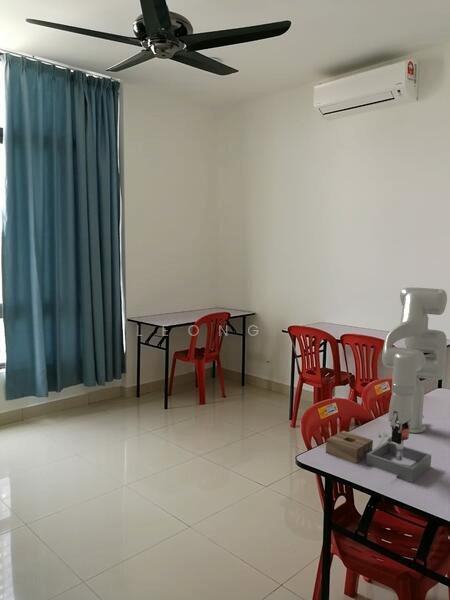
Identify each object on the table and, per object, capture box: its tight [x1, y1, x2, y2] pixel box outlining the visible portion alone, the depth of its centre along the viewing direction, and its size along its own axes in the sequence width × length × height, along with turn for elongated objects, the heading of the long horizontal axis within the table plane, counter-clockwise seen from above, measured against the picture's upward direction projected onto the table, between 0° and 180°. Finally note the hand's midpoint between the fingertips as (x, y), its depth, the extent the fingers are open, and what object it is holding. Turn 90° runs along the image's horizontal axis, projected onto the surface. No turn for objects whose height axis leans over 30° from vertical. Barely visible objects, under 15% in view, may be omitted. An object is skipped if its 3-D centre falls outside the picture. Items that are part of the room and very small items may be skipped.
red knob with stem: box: [394, 426, 410, 462], centre depth 166 cm, size 5×5×11 cm
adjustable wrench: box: [376, 430, 392, 448], centre depth 186 cm, size 25×6×2 cm, turn 147°
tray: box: [365, 440, 432, 484], centre depth 166 cm, size 16×16×4 cm
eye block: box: [325, 430, 374, 464], centre depth 174 cm, size 12×12×6 cm
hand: (400, 439), depth 165 cm, fingers closed on red knob with stem, 5 cm apart
